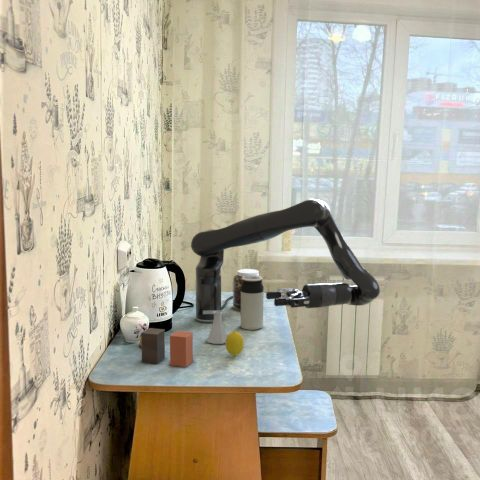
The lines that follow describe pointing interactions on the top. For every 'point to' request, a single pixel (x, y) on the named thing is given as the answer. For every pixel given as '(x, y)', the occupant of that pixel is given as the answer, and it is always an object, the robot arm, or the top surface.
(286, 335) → the top surface
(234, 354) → the lemon
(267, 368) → the top surface
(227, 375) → the top surface
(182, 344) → the terracotta block
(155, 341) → the walnut block
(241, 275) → the jar
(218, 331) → the flask
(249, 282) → the travel mug
